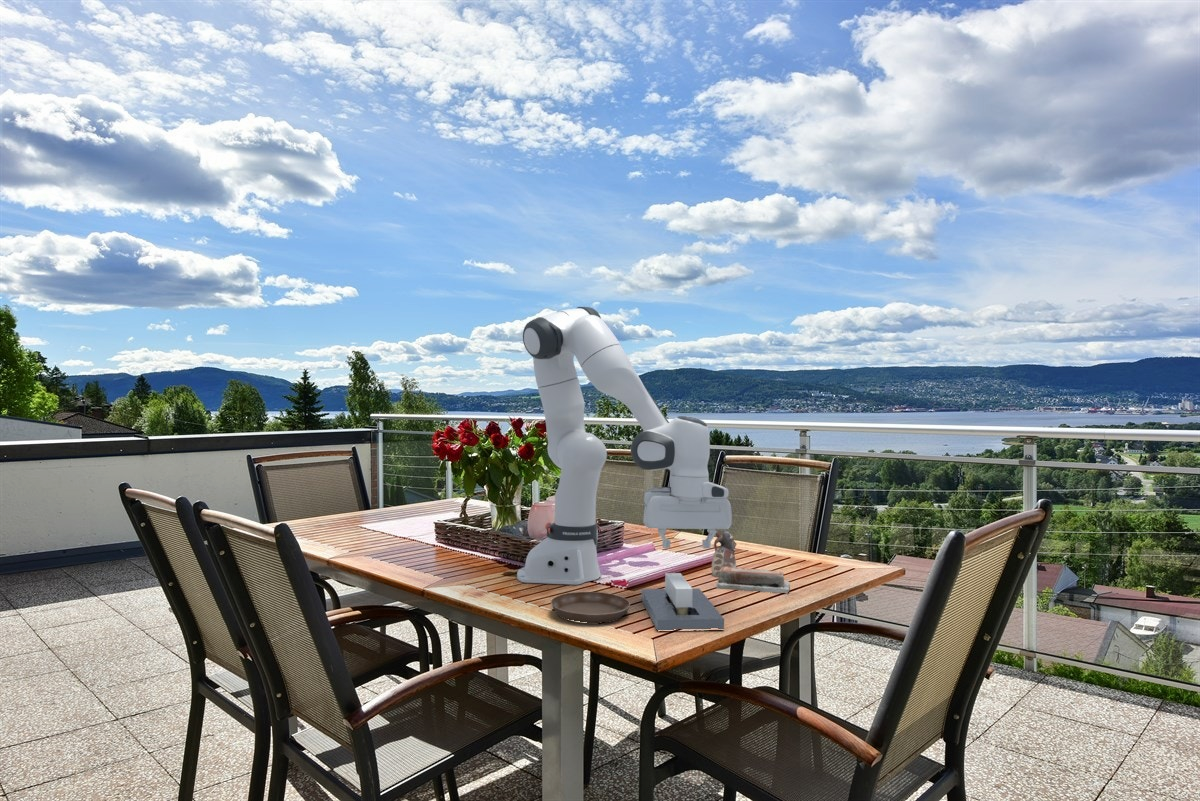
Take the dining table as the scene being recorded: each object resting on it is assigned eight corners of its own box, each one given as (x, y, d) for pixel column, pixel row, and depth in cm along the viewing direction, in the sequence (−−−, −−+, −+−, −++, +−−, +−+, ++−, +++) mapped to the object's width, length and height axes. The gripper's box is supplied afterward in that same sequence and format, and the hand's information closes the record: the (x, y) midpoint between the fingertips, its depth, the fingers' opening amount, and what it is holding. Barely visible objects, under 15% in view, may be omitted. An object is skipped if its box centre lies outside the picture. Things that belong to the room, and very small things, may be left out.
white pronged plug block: (692, 621, 159) (692, 588, 159) (675, 621, 159) (676, 589, 159) (679, 602, 173) (680, 573, 173) (664, 602, 173) (665, 573, 173)
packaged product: (716, 571, 187) (720, 562, 196) (715, 590, 187) (720, 581, 196) (789, 576, 182) (790, 567, 191) (788, 596, 182) (790, 586, 191)
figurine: (737, 579, 196) (738, 534, 196) (710, 577, 198) (711, 533, 198) (737, 572, 203) (738, 529, 203) (711, 571, 205) (712, 528, 205)
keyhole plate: (723, 630, 153) (724, 618, 153) (657, 631, 152) (657, 619, 152) (699, 598, 177) (699, 588, 177) (641, 599, 176) (641, 589, 176)
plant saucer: (629, 604, 172) (629, 591, 172) (630, 628, 154) (630, 614, 154) (554, 603, 173) (554, 590, 173) (546, 626, 155) (546, 612, 155)
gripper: (647, 488, 163) (644, 550, 164) (735, 490, 167) (732, 551, 167) (641, 485, 170) (639, 544, 170) (726, 486, 173) (724, 545, 173)
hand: (686, 547), depth 168 cm, fingers open, 8 cm apart
